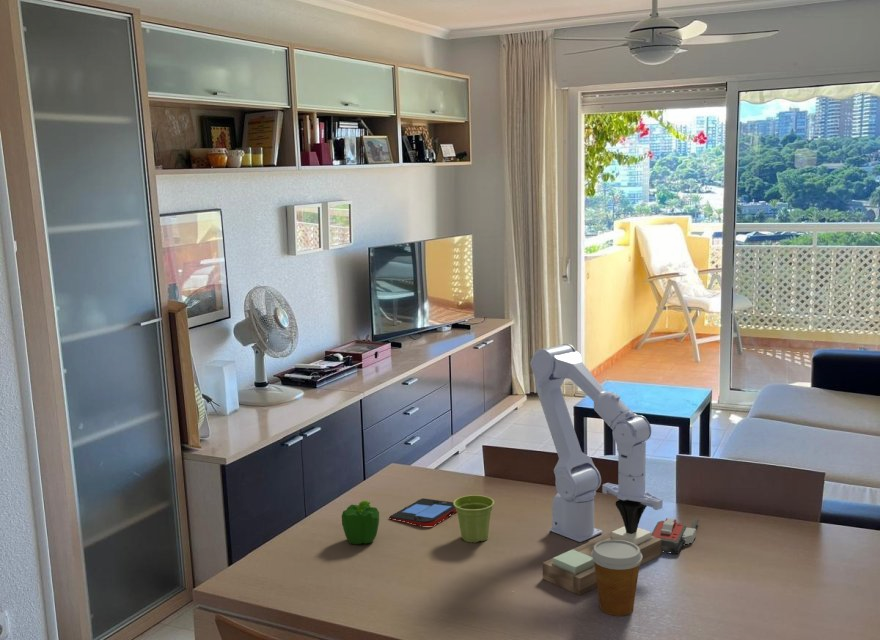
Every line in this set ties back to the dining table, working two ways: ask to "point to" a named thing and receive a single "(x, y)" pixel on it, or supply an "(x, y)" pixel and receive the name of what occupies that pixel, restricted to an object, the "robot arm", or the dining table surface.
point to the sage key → (573, 561)
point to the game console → (425, 512)
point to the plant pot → (474, 516)
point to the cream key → (632, 535)
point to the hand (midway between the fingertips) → (631, 532)
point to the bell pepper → (360, 523)
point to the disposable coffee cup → (616, 575)
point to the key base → (588, 577)
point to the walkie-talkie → (674, 534)
